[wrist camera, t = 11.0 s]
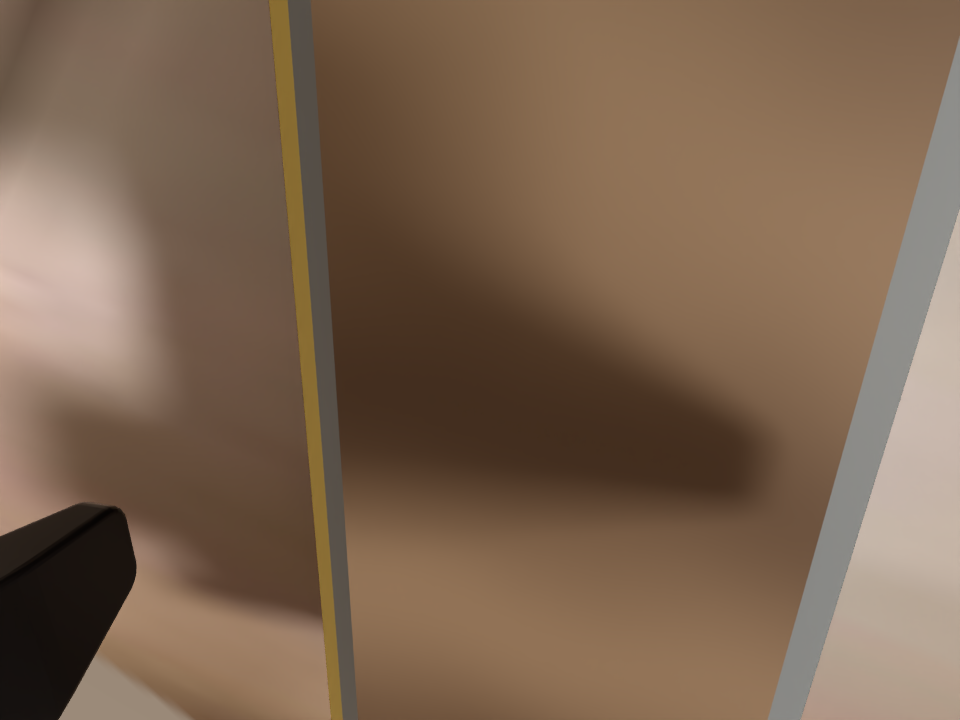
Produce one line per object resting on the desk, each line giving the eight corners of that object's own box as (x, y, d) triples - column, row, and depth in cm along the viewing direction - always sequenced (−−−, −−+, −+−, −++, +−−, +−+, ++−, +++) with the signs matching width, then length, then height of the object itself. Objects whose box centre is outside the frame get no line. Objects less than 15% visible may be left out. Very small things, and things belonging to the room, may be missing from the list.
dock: (754, 709, 20) (769, 821, 17) (368, 637, 22) (328, 729, 19) (1070, -464, 10) (1216, -619, 7) (314, -418, 12) (215, -530, 9)
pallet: (675, 830, 18) (678, 1090, 14) (426, 777, 19) (359, 1004, 15) (1029, -753, 7) (1531, -1746, 3) (413, -679, 8) (161, -1348, 4)
